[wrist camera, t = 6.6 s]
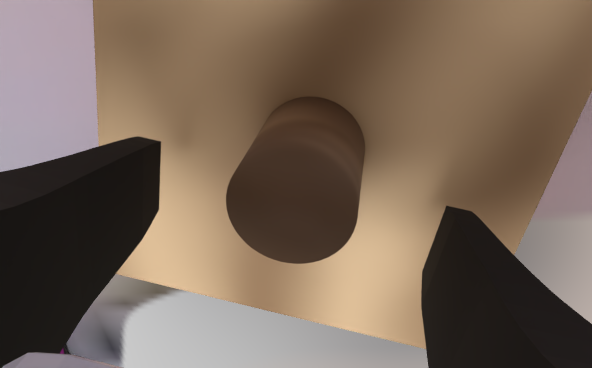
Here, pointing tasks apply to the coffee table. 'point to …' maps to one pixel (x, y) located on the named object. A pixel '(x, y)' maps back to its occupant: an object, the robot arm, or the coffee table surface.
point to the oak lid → (336, 139)
